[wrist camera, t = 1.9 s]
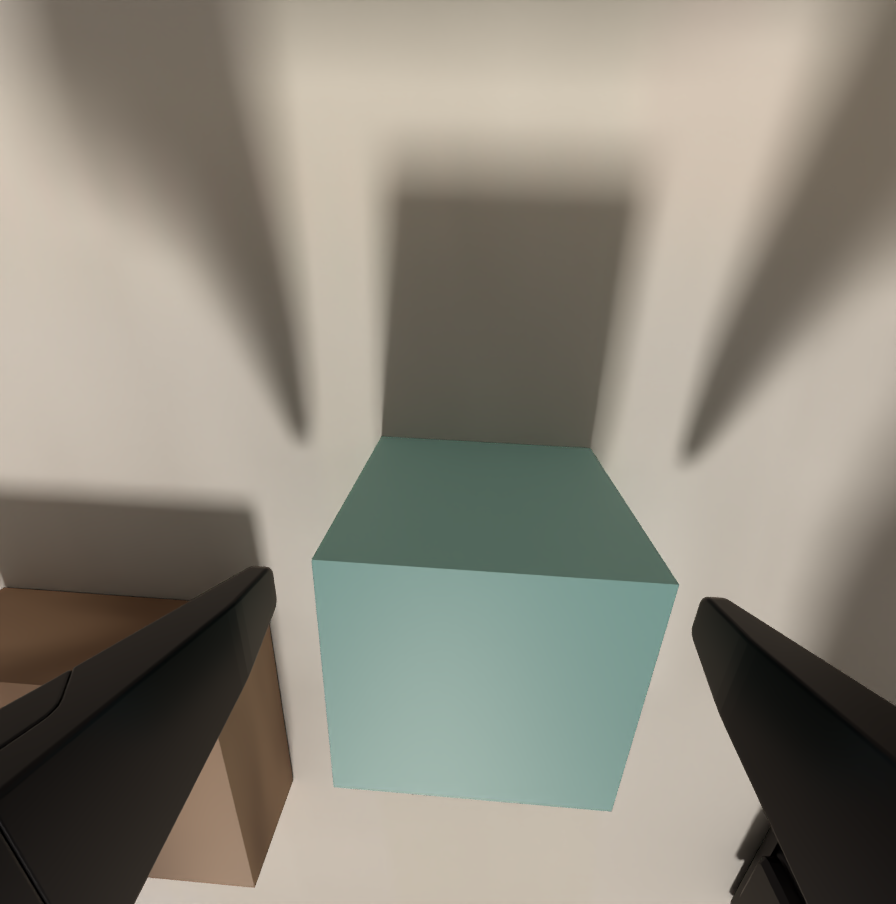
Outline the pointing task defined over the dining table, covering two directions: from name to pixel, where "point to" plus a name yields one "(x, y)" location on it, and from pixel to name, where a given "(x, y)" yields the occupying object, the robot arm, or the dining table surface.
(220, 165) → the dining table surface
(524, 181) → the dining table surface
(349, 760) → the teal cube
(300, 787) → the dining table surface
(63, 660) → the walnut base
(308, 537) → the dining table surface
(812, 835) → the robot arm
